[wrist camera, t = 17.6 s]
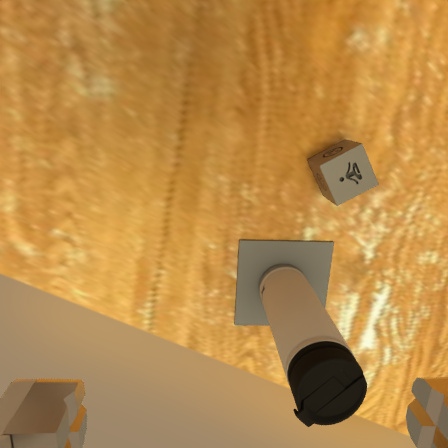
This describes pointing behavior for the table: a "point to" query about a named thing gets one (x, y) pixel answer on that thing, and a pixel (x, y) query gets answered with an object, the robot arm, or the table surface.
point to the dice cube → (343, 171)
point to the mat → (271, 256)
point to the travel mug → (311, 349)
